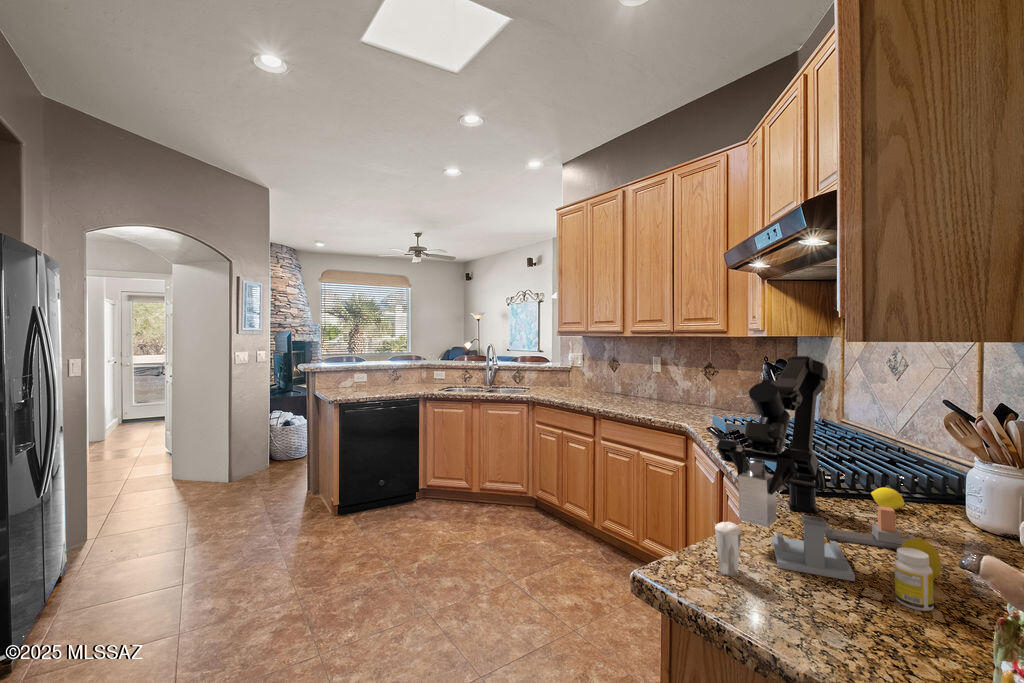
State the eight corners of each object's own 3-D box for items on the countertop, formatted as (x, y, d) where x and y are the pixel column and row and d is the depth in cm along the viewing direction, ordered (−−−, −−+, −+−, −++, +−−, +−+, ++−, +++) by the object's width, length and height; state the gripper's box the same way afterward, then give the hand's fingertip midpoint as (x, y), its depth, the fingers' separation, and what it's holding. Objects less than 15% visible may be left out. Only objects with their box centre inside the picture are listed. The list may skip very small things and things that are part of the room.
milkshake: (716, 562, 89) (715, 511, 89) (745, 571, 85) (744, 518, 85) (707, 570, 86) (706, 517, 86) (736, 580, 82) (735, 525, 82)
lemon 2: (893, 578, 82) (892, 534, 83) (910, 572, 85) (909, 529, 85) (931, 593, 77) (930, 546, 77) (948, 586, 80) (947, 540, 80)
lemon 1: (906, 511, 117) (909, 491, 116) (898, 516, 114) (901, 495, 113) (874, 500, 122) (877, 481, 122) (865, 504, 120) (868, 484, 119)
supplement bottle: (918, 596, 76) (917, 546, 77) (942, 612, 72) (941, 559, 72) (887, 595, 77) (886, 545, 77) (909, 611, 72) (908, 558, 72)
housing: (748, 513, 100) (747, 456, 100) (776, 520, 96) (775, 461, 96) (739, 520, 96) (738, 461, 96) (767, 527, 92) (766, 466, 92)
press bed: (772, 541, 98) (771, 495, 98) (838, 551, 93) (838, 503, 93) (778, 568, 86) (777, 516, 86) (855, 582, 81) (854, 526, 81)
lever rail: (823, 532, 103) (823, 523, 103) (913, 544, 96) (913, 535, 96) (826, 538, 99) (826, 529, 99) (920, 552, 92) (920, 542, 92)
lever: (872, 533, 99) (871, 504, 99) (895, 536, 98) (894, 506, 98) (878, 540, 95) (877, 510, 95) (902, 544, 94) (901, 513, 94)
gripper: (718, 404, 105) (698, 460, 98) (812, 412, 92) (797, 478, 84) (732, 433, 111) (714, 488, 103) (822, 444, 97) (809, 509, 90)
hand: (755, 490), depth 95 cm, fingers closed on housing, 5 cm apart
